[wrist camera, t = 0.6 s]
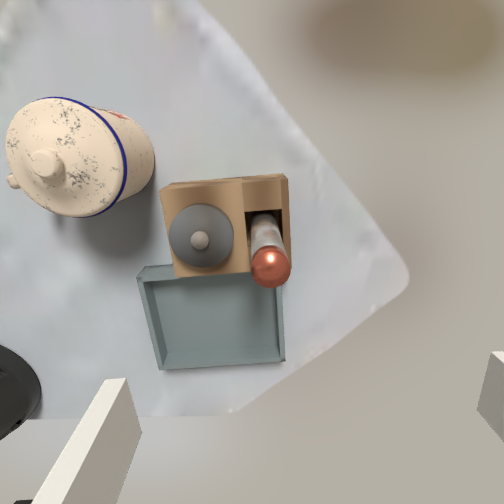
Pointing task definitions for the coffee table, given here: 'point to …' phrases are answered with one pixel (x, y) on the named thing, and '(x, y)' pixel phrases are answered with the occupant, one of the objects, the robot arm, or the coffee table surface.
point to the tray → (211, 319)
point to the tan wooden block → (221, 221)
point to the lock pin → (267, 251)
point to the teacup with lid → (76, 156)
